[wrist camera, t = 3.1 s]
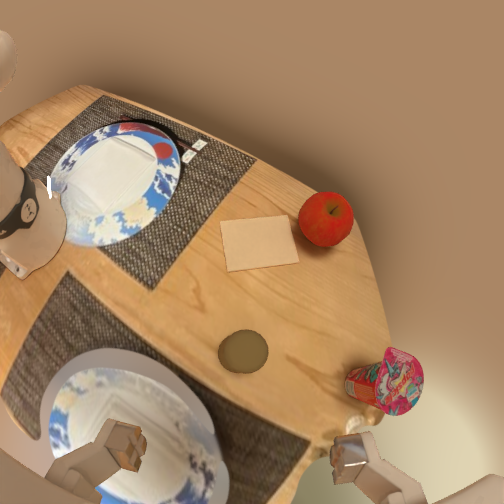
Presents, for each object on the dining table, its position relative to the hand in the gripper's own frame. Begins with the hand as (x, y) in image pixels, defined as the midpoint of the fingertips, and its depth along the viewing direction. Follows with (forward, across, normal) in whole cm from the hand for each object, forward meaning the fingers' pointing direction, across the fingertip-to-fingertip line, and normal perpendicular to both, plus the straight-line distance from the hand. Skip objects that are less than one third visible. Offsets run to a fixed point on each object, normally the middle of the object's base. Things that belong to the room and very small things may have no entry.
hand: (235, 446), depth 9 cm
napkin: (+38, 0, +1) cm, 38 cm away
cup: (+26, -17, +21) cm, 37 cm away
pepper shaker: (+27, +2, +15) cm, 31 cm away
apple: (+41, -10, 0) cm, 42 cm away
